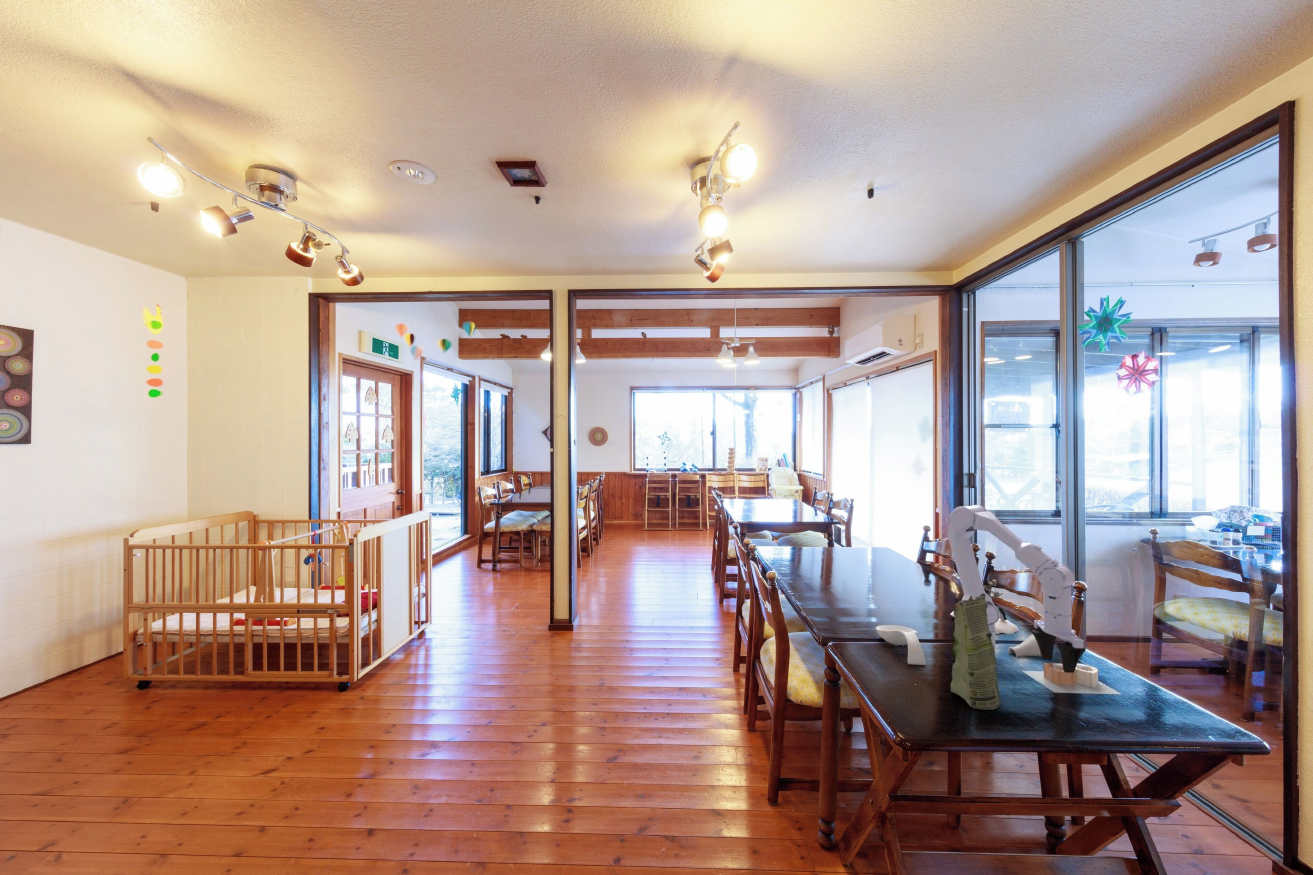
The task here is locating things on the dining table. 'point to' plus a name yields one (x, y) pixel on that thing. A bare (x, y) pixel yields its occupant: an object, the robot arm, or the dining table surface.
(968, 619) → the pouch
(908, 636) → the spoon rest
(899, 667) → the dining table surface
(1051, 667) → the gear
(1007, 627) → the figurine
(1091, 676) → the gear
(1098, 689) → the gear board
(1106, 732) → the dining table surface
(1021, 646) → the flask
